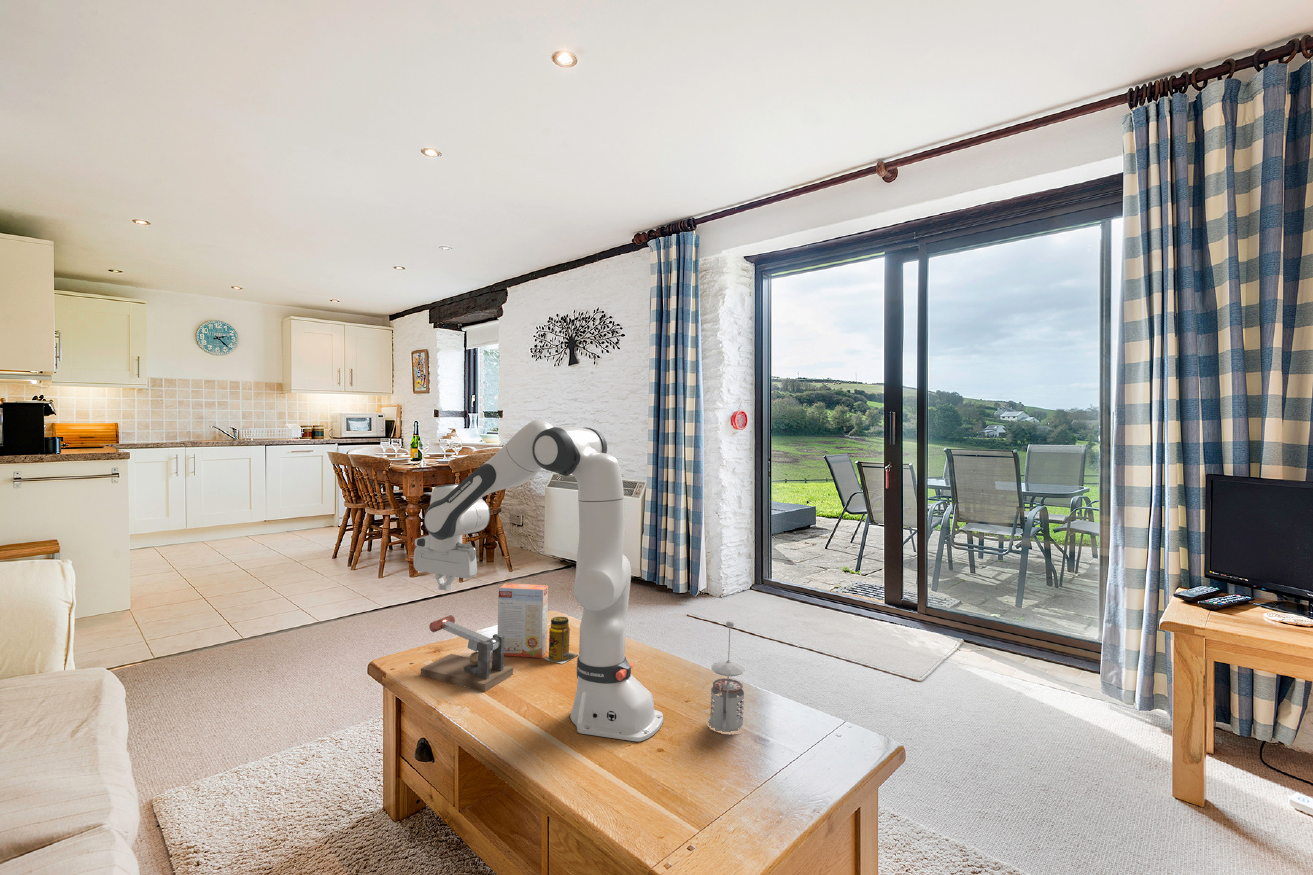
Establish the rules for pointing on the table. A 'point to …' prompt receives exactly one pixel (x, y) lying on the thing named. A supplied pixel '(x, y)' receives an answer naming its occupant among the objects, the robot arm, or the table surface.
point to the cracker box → (523, 619)
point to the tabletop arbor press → (472, 668)
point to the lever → (463, 633)
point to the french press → (727, 695)
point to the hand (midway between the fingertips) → (444, 589)
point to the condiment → (559, 641)
